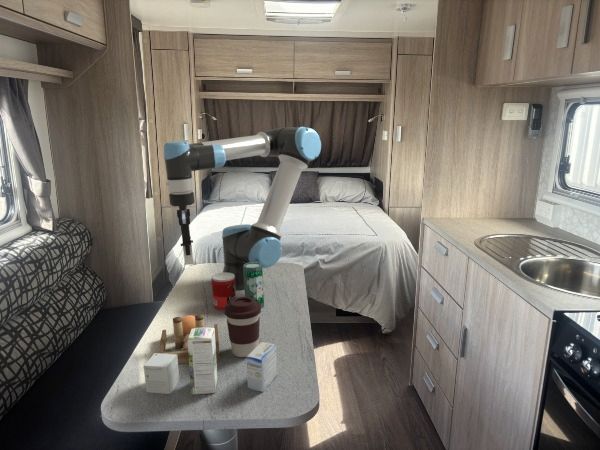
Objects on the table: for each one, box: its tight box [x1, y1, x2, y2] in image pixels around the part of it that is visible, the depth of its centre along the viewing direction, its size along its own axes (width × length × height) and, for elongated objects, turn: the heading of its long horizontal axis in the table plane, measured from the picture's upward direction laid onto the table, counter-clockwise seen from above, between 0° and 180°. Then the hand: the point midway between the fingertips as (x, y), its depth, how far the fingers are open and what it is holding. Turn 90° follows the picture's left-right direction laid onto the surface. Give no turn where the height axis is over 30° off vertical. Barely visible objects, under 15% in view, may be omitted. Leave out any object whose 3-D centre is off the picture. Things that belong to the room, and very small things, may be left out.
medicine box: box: [245, 341, 278, 393], centre depth 110 cm, size 8×4×9 cm, turn 157°
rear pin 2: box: [194, 313, 205, 328], centre depth 129 cm, size 2×2×9 cm
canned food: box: [211, 271, 237, 311], centre depth 155 cm, size 8×8×11 cm
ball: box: [181, 314, 196, 336], centre depth 135 cm, size 6×6×6 cm
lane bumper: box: [157, 323, 221, 365], centre depth 128 cm, size 16×15×3 cm
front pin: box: [181, 334, 190, 351], centre depth 127 cm, size 2×2×9 cm
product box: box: [143, 352, 180, 395], centre depth 109 cm, size 6×6×7 cm
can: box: [243, 262, 265, 309], centre depth 154 cm, size 6×6×15 cm
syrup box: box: [188, 327, 218, 396], centre depth 108 cm, size 6×6×14 cm
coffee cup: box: [223, 296, 262, 358], centre depth 124 cm, size 10×10×15 cm
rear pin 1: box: [172, 316, 184, 350], centre depth 128 cm, size 2×2×9 cm
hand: (189, 263), depth 146 cm, fingers closed
